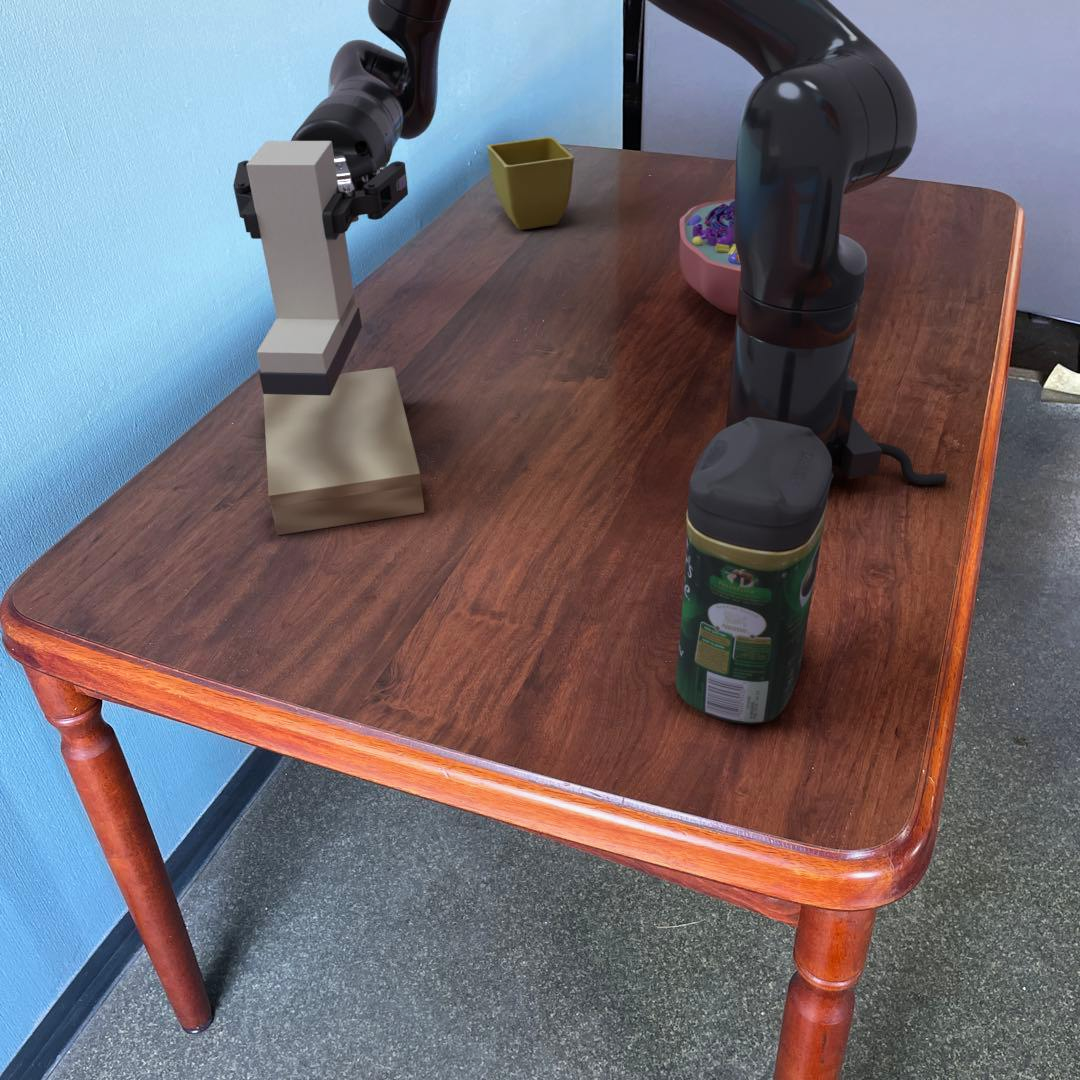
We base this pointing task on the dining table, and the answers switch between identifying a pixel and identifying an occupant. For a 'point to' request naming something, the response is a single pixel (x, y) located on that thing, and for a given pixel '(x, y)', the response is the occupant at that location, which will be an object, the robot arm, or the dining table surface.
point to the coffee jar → (750, 567)
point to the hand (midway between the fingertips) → (291, 226)
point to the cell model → (711, 253)
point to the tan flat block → (341, 455)
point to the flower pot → (532, 180)
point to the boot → (302, 269)
